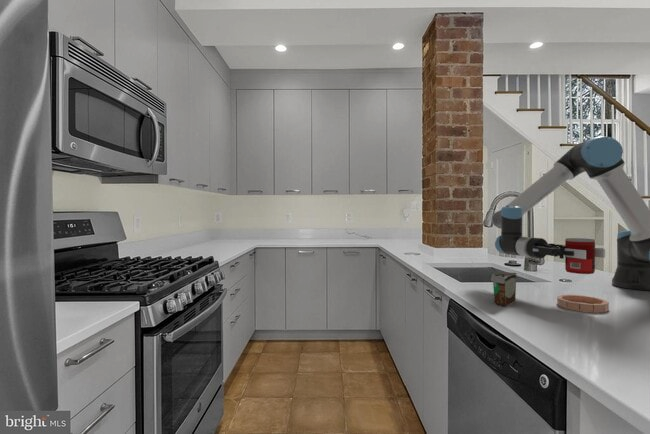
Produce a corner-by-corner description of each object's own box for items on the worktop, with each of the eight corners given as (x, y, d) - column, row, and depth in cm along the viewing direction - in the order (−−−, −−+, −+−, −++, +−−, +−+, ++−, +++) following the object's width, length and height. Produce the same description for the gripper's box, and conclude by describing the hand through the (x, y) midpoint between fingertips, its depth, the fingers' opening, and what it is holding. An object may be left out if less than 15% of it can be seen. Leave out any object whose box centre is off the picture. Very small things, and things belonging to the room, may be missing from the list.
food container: (498, 298, 131) (498, 270, 130) (516, 301, 126) (516, 272, 126) (485, 304, 122) (485, 275, 122) (504, 307, 118) (504, 277, 117)
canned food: (599, 274, 113) (599, 240, 113) (571, 273, 115) (571, 239, 115) (587, 270, 121) (587, 238, 121) (561, 270, 123) (561, 238, 122)
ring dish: (584, 301, 125) (585, 294, 125) (619, 311, 112) (619, 304, 112) (548, 302, 124) (548, 295, 124) (578, 313, 111) (578, 305, 111)
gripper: (552, 256, 138) (617, 263, 117) (511, 258, 132) (571, 267, 110) (552, 236, 138) (617, 241, 117) (511, 238, 132) (571, 243, 110)
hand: (594, 254), depth 113 cm, fingers closed on canned food, 8 cm apart
